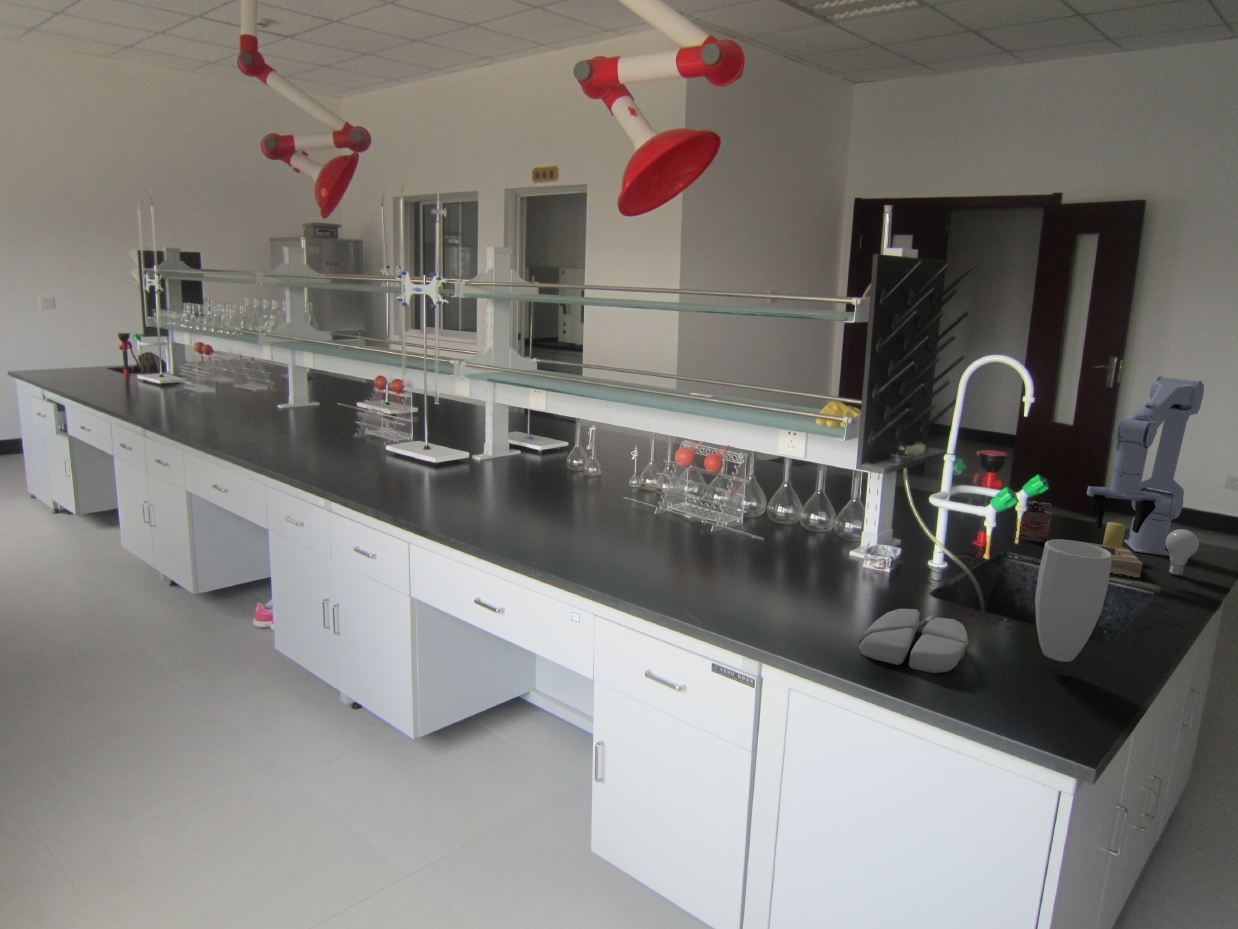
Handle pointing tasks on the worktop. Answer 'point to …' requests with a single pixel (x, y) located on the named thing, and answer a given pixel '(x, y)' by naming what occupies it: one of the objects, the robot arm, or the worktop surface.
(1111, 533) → the dowel
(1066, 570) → the cup
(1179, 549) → the lightbulb
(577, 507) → the worktop surface
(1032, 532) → the lighter
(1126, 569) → the socket block
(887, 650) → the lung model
